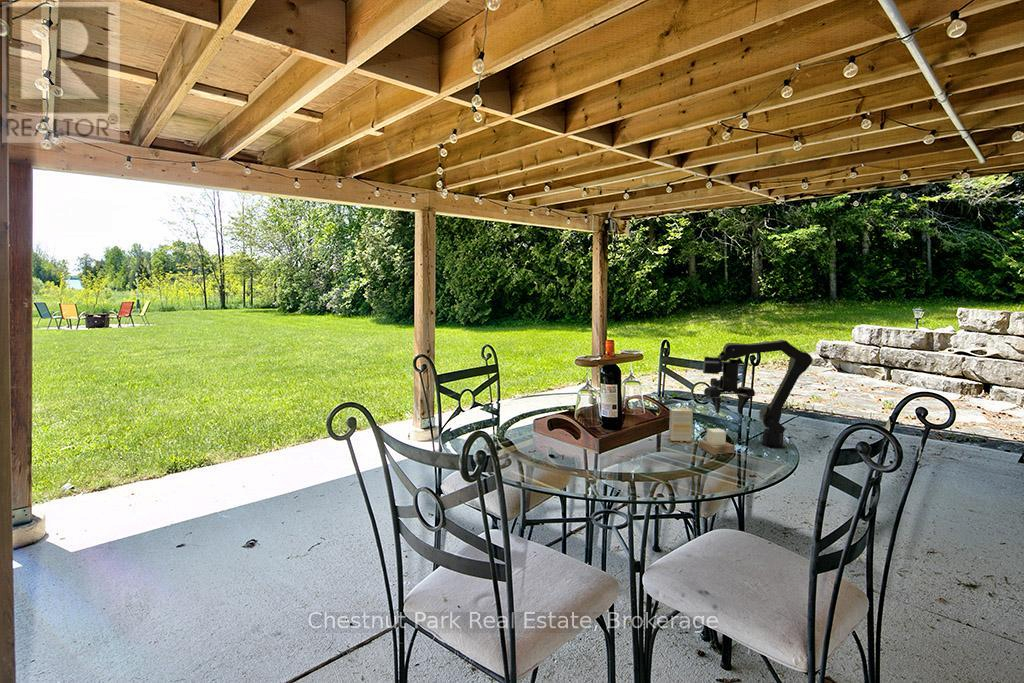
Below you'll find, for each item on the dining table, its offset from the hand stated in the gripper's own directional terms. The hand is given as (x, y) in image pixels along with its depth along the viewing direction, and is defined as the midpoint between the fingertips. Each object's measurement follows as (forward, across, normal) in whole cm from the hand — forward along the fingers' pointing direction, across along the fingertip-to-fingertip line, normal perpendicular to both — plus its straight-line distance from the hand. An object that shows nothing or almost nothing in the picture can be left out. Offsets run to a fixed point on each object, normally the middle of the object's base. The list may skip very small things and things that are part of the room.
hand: (728, 413), depth 205 cm
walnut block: (+12, +10, +10) cm, 19 cm away
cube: (+9, +10, +10) cm, 17 cm away
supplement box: (+12, +18, -4) cm, 22 cm away
